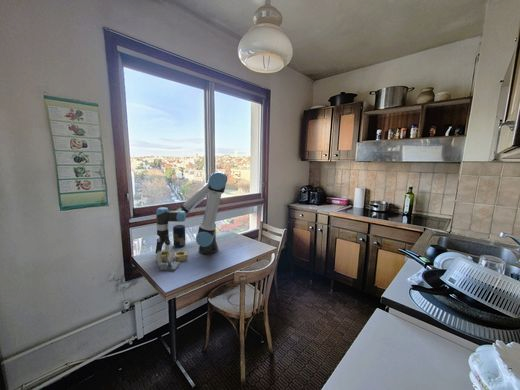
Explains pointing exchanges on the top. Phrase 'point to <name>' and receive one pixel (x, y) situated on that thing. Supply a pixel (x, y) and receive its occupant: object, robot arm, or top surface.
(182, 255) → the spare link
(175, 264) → the keeper
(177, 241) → the canister
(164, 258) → the link
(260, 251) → the top surface
